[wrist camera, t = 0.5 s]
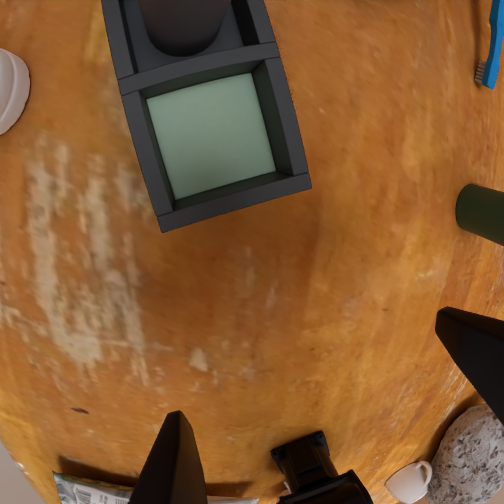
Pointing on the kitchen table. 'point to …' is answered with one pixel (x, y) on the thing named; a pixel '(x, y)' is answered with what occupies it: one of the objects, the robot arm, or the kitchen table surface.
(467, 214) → the spice bottle
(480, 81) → the toothbrush
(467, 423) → the stone
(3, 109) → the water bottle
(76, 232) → the kitchen table surface
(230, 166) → the cup holder
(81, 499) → the frozen beans
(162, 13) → the grey spice bottle
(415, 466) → the cup
